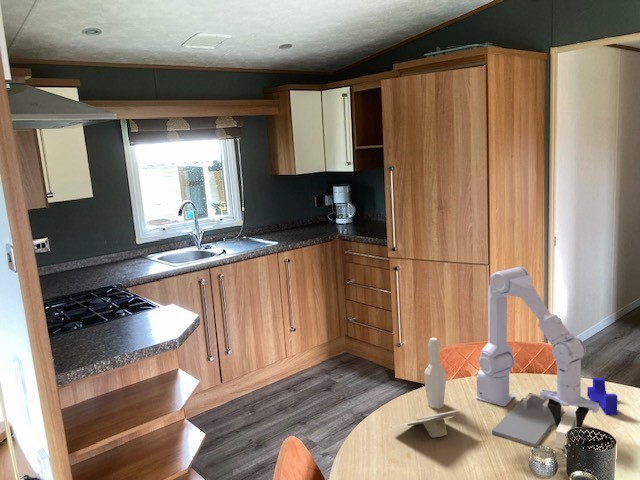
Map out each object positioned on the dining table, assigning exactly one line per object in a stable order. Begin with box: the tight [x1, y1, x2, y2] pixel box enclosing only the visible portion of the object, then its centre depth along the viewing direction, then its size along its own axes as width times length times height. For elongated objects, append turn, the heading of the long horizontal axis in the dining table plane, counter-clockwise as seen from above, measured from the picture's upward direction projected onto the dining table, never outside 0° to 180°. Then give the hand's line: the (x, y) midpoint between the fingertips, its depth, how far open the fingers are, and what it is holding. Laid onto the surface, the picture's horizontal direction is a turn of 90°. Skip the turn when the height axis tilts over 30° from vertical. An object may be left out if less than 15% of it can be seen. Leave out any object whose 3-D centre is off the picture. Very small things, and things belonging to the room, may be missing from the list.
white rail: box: [555, 405, 578, 451], centre depth 143 cm, size 3×16×5 cm, turn 144°
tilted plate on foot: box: [390, 408, 464, 439], centre depth 148 cm, size 16×9×15 cm
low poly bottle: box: [423, 337, 447, 410], centre depth 163 cm, size 6×6×22 cm
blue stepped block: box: [586, 377, 618, 416], centre depth 157 cm, size 12×4×6 cm, turn 169°
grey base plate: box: [491, 392, 565, 448], centre depth 151 cm, size 12×23×4 cm, turn 138°
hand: (568, 428), depth 143 cm, fingers open, 5 cm apart
